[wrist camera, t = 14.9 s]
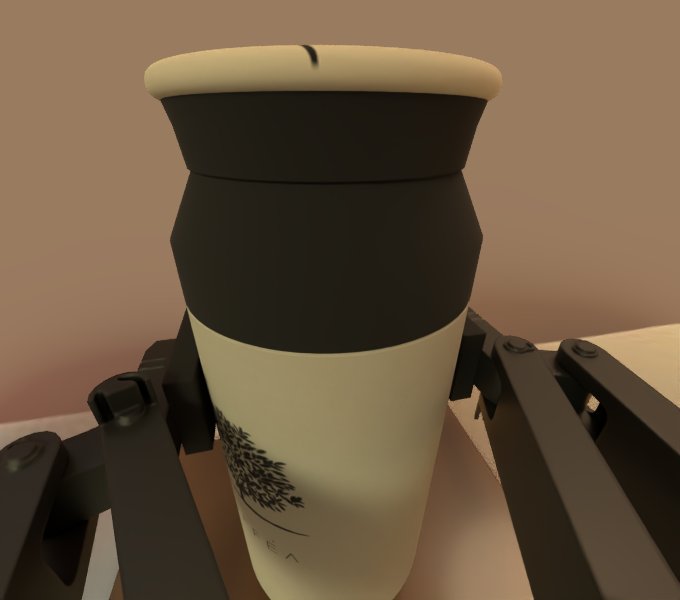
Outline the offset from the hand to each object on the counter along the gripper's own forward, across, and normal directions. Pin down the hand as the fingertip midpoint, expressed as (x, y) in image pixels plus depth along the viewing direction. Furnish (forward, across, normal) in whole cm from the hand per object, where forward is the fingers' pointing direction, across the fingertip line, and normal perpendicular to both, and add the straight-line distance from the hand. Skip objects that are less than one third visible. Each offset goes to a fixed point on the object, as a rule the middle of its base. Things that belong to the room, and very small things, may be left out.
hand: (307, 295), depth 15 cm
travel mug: (-5, 0, -10) cm, 11 cm away
